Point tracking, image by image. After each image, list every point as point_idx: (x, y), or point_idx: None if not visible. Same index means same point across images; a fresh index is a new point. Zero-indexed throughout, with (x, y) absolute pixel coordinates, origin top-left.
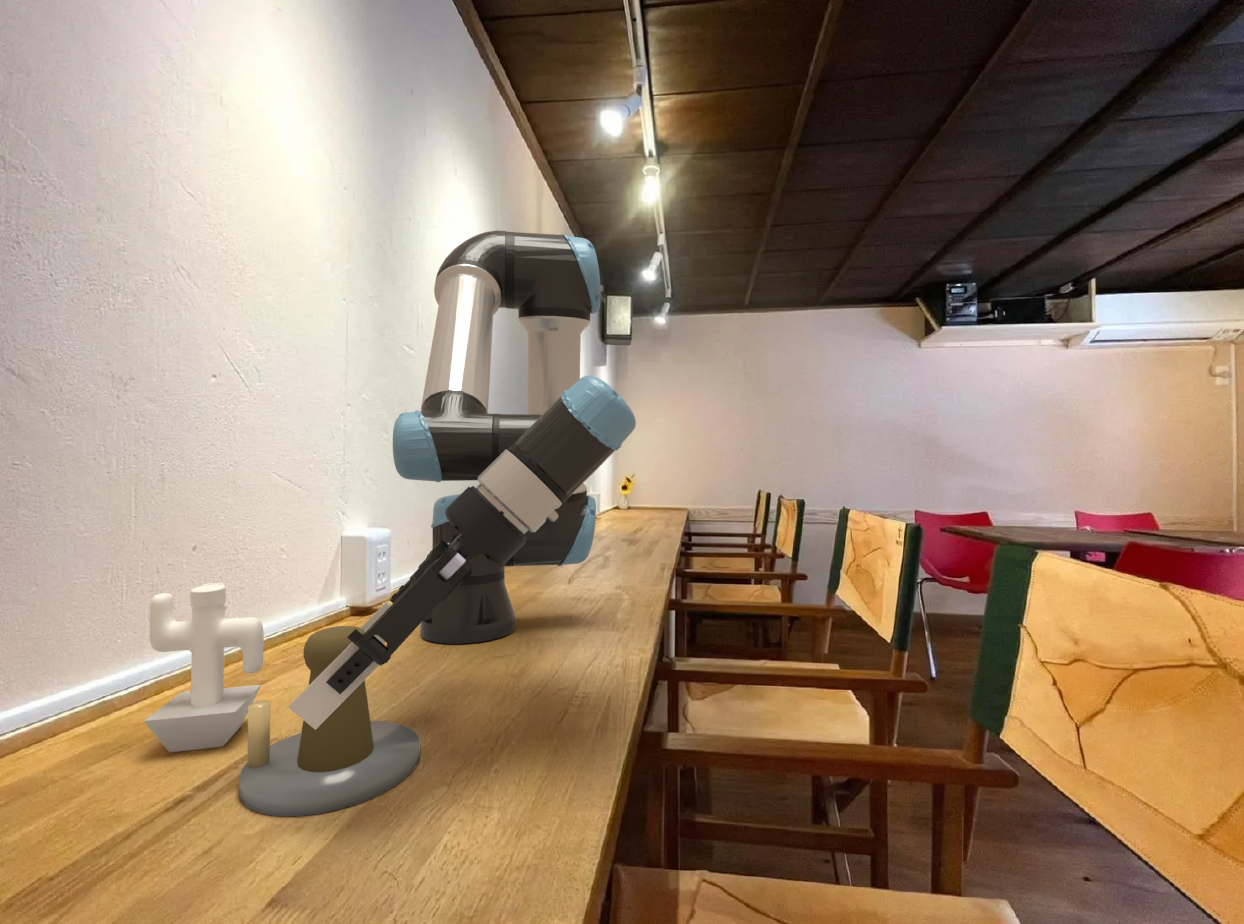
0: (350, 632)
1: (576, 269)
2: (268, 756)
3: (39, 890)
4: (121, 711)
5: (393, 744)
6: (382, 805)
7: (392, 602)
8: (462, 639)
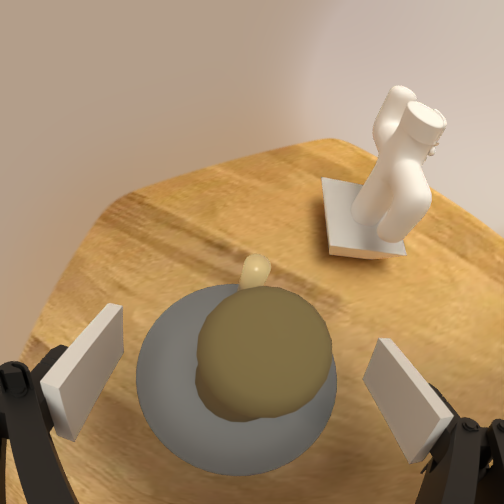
0: (243, 377)
1: None
2: None
3: (129, 201)
4: None
5: (246, 445)
6: (133, 431)
7: (454, 426)
8: None
